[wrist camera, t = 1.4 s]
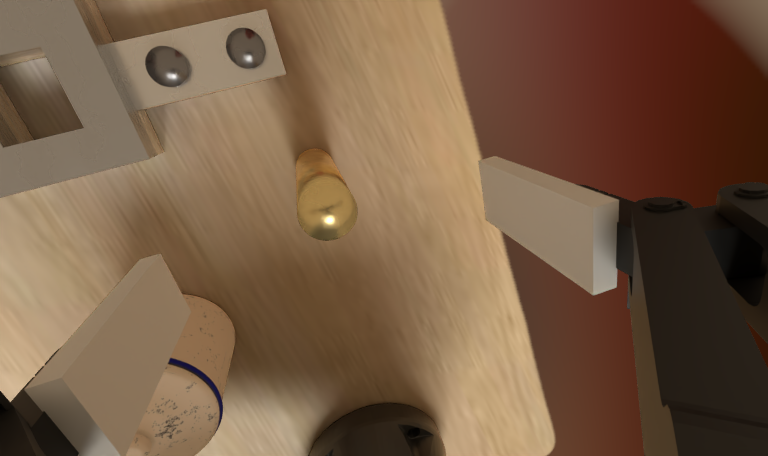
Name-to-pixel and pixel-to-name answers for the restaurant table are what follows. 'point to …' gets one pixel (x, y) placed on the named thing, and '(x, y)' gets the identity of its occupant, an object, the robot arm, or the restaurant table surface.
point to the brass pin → (323, 197)
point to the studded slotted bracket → (116, 83)
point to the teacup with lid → (189, 386)
